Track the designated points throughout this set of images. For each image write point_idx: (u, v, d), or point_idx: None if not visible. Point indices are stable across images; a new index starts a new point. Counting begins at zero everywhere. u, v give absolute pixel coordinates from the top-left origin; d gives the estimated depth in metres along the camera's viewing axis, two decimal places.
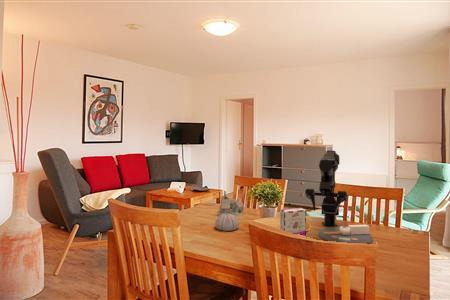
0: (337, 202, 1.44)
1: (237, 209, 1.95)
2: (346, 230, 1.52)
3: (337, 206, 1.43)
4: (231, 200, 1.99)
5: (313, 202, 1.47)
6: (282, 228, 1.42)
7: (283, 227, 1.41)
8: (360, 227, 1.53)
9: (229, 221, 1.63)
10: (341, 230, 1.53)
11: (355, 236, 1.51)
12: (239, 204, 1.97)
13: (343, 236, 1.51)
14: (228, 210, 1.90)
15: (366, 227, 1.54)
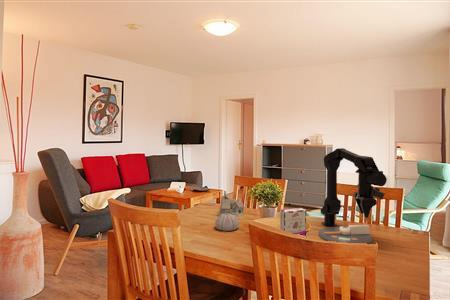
0: None
1: (237, 209, 1.95)
2: (346, 230, 1.52)
3: None
4: (231, 200, 1.99)
5: None
6: (282, 228, 1.42)
7: (283, 227, 1.41)
8: (360, 227, 1.53)
9: (229, 221, 1.63)
10: (341, 230, 1.53)
11: (355, 236, 1.51)
12: (239, 204, 1.97)
13: (343, 236, 1.51)
14: (228, 210, 1.90)
15: (366, 227, 1.54)
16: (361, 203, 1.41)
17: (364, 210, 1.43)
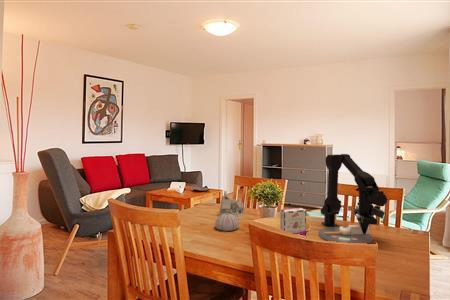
0: None
1: (237, 209, 1.95)
2: (346, 230, 1.52)
3: None
4: (231, 200, 1.99)
5: None
6: (282, 228, 1.42)
7: (283, 227, 1.41)
8: (360, 227, 1.53)
9: (229, 221, 1.63)
10: (341, 230, 1.53)
11: (355, 236, 1.51)
12: (239, 204, 1.97)
13: (343, 236, 1.51)
14: (228, 210, 1.89)
15: None
16: (361, 222, 1.42)
17: (362, 226, 1.48)
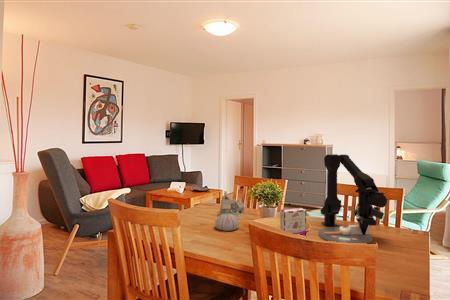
0: None
1: (238, 209, 1.94)
2: (346, 230, 1.52)
3: None
4: (232, 200, 1.98)
5: None
6: (282, 228, 1.42)
7: (283, 227, 1.41)
8: None
9: (229, 221, 1.63)
10: (341, 230, 1.53)
11: (355, 236, 1.51)
12: (240, 204, 1.96)
13: (343, 236, 1.51)
14: (229, 210, 1.89)
15: None
16: (361, 223, 1.44)
17: (361, 227, 1.50)
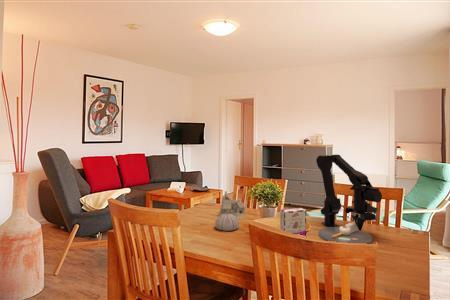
0: None
1: (238, 210, 1.94)
2: (349, 230, 1.52)
3: None
4: (232, 200, 1.98)
5: None
6: (282, 228, 1.42)
7: (283, 227, 1.41)
8: (355, 225, 1.58)
9: (229, 221, 1.63)
10: (344, 231, 1.52)
11: (355, 236, 1.51)
12: (240, 204, 1.96)
13: (343, 236, 1.51)
14: (229, 211, 1.89)
15: None
16: (362, 219, 1.49)
17: (359, 223, 1.55)
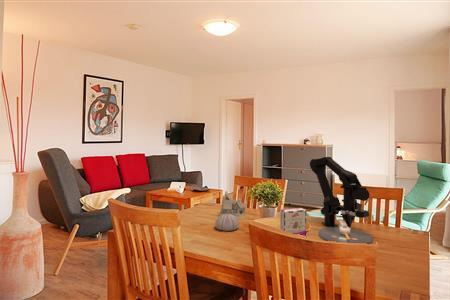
0: None
1: (239, 210, 1.93)
2: None
3: None
4: (232, 201, 1.97)
5: None
6: (282, 228, 1.42)
7: (283, 227, 1.41)
8: (344, 223, 1.61)
9: (229, 221, 1.63)
10: (347, 231, 1.52)
11: (355, 236, 1.51)
12: (241, 205, 1.95)
13: (343, 236, 1.51)
14: (230, 211, 1.88)
15: None
16: None
17: (350, 221, 1.59)
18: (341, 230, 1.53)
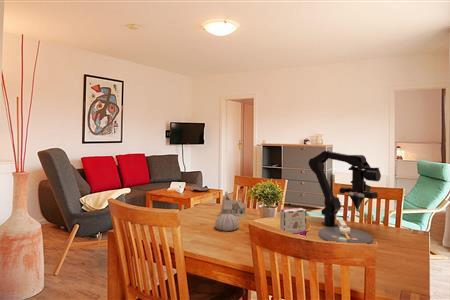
0: None
1: (239, 210, 1.93)
2: None
3: None
4: (233, 201, 1.97)
5: None
6: (282, 228, 1.42)
7: (283, 227, 1.41)
8: (344, 223, 1.61)
9: (229, 221, 1.63)
10: (347, 231, 1.52)
11: (355, 236, 1.51)
12: (241, 205, 1.95)
13: (343, 236, 1.51)
14: (230, 211, 1.88)
15: None
16: None
17: (358, 202, 1.60)
18: (341, 230, 1.53)
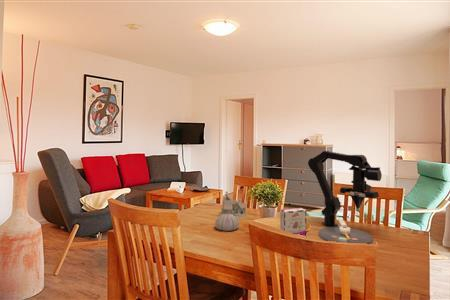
0: None
1: (239, 210, 1.93)
2: None
3: None
4: (233, 201, 1.97)
5: None
6: (282, 228, 1.42)
7: (283, 227, 1.41)
8: (344, 223, 1.61)
9: (229, 221, 1.63)
10: (347, 231, 1.52)
11: (355, 236, 1.51)
12: (241, 205, 1.95)
13: (343, 236, 1.51)
14: (230, 211, 1.87)
15: None
16: (368, 197, 1.54)
17: (359, 202, 1.61)
18: (341, 230, 1.53)
